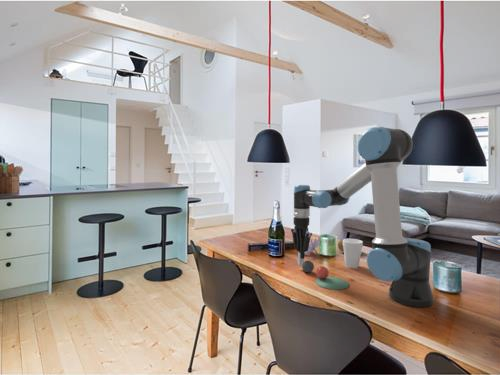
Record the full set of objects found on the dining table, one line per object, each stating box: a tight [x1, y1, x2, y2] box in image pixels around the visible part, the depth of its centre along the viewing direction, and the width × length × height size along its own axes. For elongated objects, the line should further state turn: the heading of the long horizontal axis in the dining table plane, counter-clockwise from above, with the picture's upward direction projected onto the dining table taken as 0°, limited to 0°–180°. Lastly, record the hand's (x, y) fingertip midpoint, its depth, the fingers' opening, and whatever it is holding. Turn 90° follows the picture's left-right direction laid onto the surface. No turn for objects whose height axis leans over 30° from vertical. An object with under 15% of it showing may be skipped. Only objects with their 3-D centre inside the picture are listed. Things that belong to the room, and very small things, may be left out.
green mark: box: [315, 276, 350, 291], centre depth 133 cm, size 14×14×1 cm
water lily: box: [305, 236, 321, 257], centre depth 173 cm, size 15×15×9 cm
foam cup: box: [342, 238, 364, 269], centre depth 154 cm, size 10×9×13 cm
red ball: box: [315, 265, 330, 279], centre depth 138 cm, size 6×6×6 cm
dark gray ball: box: [301, 260, 315, 273], centre depth 146 cm, size 6×6×6 cm
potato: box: [337, 239, 344, 253], centre depth 179 cm, size 10×14×8 cm
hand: (300, 264), depth 150 cm, fingers closed
